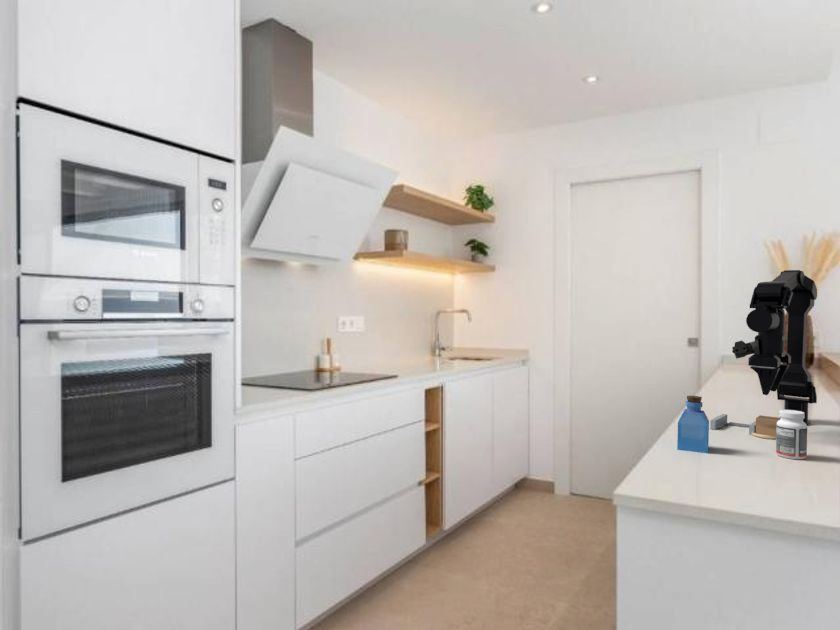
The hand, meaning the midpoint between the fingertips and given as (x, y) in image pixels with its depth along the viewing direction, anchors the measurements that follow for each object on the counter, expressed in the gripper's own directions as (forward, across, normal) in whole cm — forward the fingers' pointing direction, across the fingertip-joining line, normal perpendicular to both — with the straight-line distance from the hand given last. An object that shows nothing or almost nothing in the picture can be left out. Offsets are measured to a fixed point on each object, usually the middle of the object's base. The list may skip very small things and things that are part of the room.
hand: (769, 393), depth 148 cm
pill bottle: (+11, +20, +8) cm, 24 cm away
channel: (+11, -4, -8) cm, 14 cm away
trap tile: (+11, -10, -8) cm, 17 cm away
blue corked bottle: (+11, +28, -10) cm, 32 cm away
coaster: (+11, 0, 0) cm, 11 cm away
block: (+10, 0, 0) cm, 10 cm away
